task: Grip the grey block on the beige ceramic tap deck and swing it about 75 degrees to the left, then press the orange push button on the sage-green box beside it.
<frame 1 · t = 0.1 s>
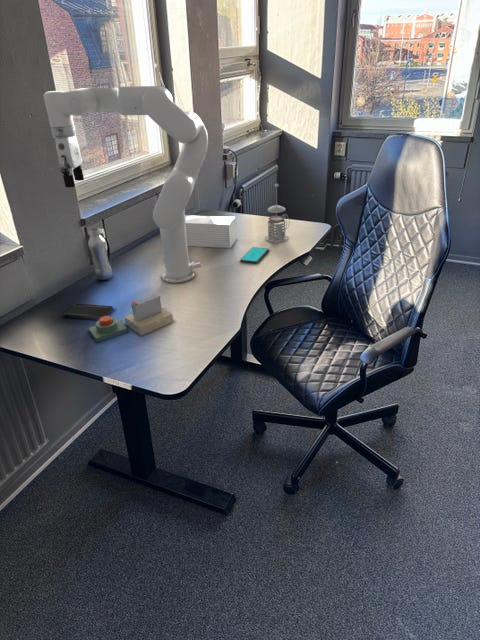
hand: (75, 183, 164), 37 cm above the table, tool pointing down, fingers open, 9 cm apart
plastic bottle: (104, 278, 183), on the table
grey block: (146, 307, 147), point 6 cm above the table, hinge at 0.0°
white storage box: (199, 242, 213), on the table
button box: (108, 331, 146), on the table
smartphone: (254, 256, 195), on the table
french press: (278, 239, 212), on the table
button: (105, 320, 144), point 4 cm above the table, slide at 0.1 cm
phone: (89, 313, 158), on the table
tap deck: (149, 323, 150), on the table
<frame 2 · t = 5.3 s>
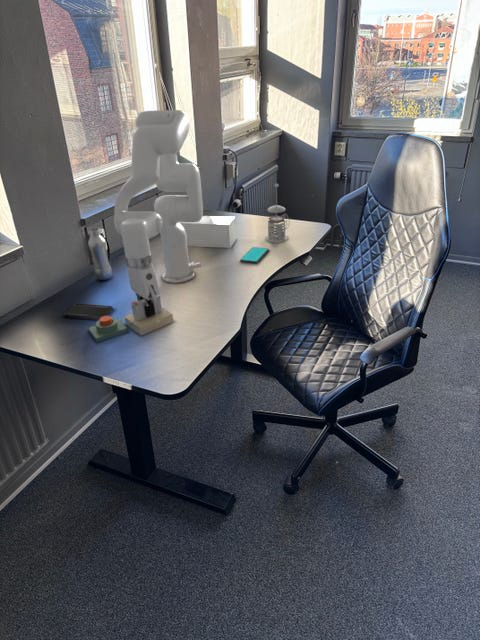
hand: (147, 313, 148), 4 cm above the table, tool pointing down, fingers closed on grey block, 2 cm apart
grey block: (146, 307, 147), point 6 cm above the table, hinge at 0.0°, touching gripper
everything else where it was.
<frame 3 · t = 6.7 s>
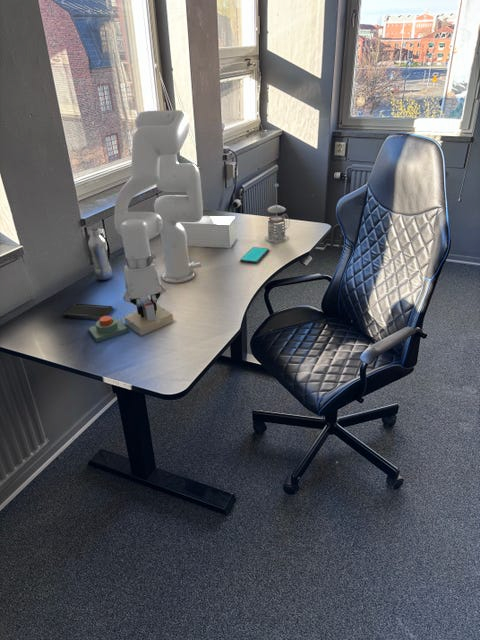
hand: (147, 313, 148), 4 cm above the table, tool pointing down, fingers open, 3 cm apart
grey block: (146, 307, 147), point 6 cm above the table, hinge at 74.4°
everything else where it was.
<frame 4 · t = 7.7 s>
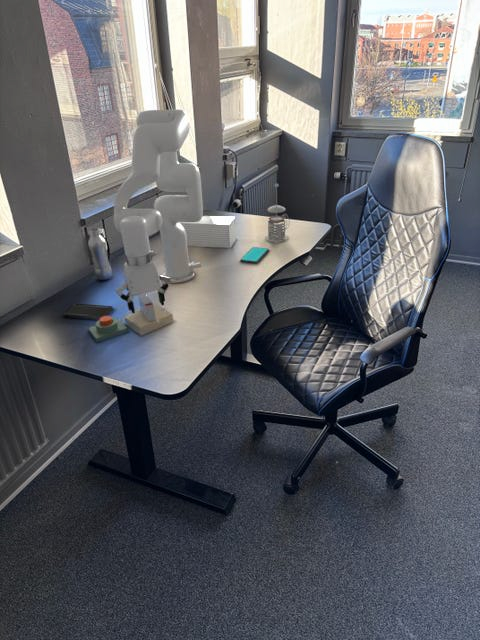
hand: (147, 307, 148), 6 cm above the table, tool pointing down, fingers open, 9 cm apart
nothing on the table moved.
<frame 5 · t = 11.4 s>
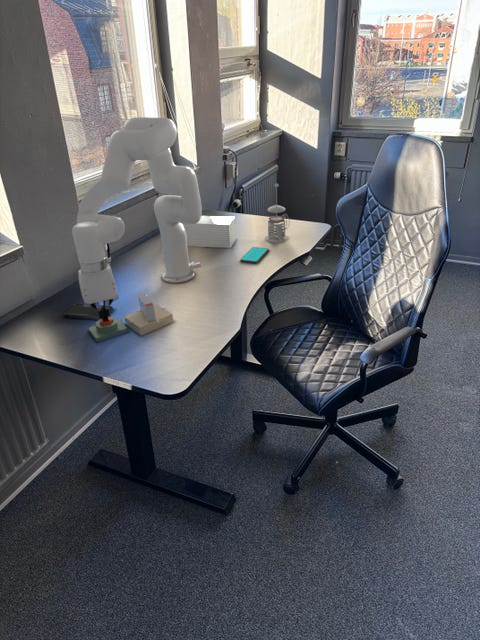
hand: (105, 319, 144), 5 cm above the table, tool pointing down, fingers closed
button: (106, 321, 145), point 4 cm above the table, slide at -0.2 cm, touching gripper
everything else where it was.
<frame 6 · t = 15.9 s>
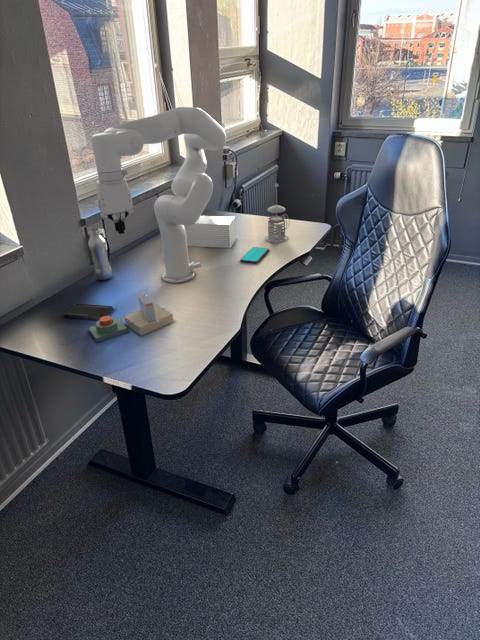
hand: (121, 232, 152), 25 cm above the table, tool pointing down, fingers closed
button: (105, 320, 144), point 4 cm above the table, slide at 0.1 cm
everything else where it was.
at the end: grey block at +74° (first picture: +0°); button pushed in 0.9 cm at the most during the clip, back to where it started at the end; button slide at 0.1 cm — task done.
